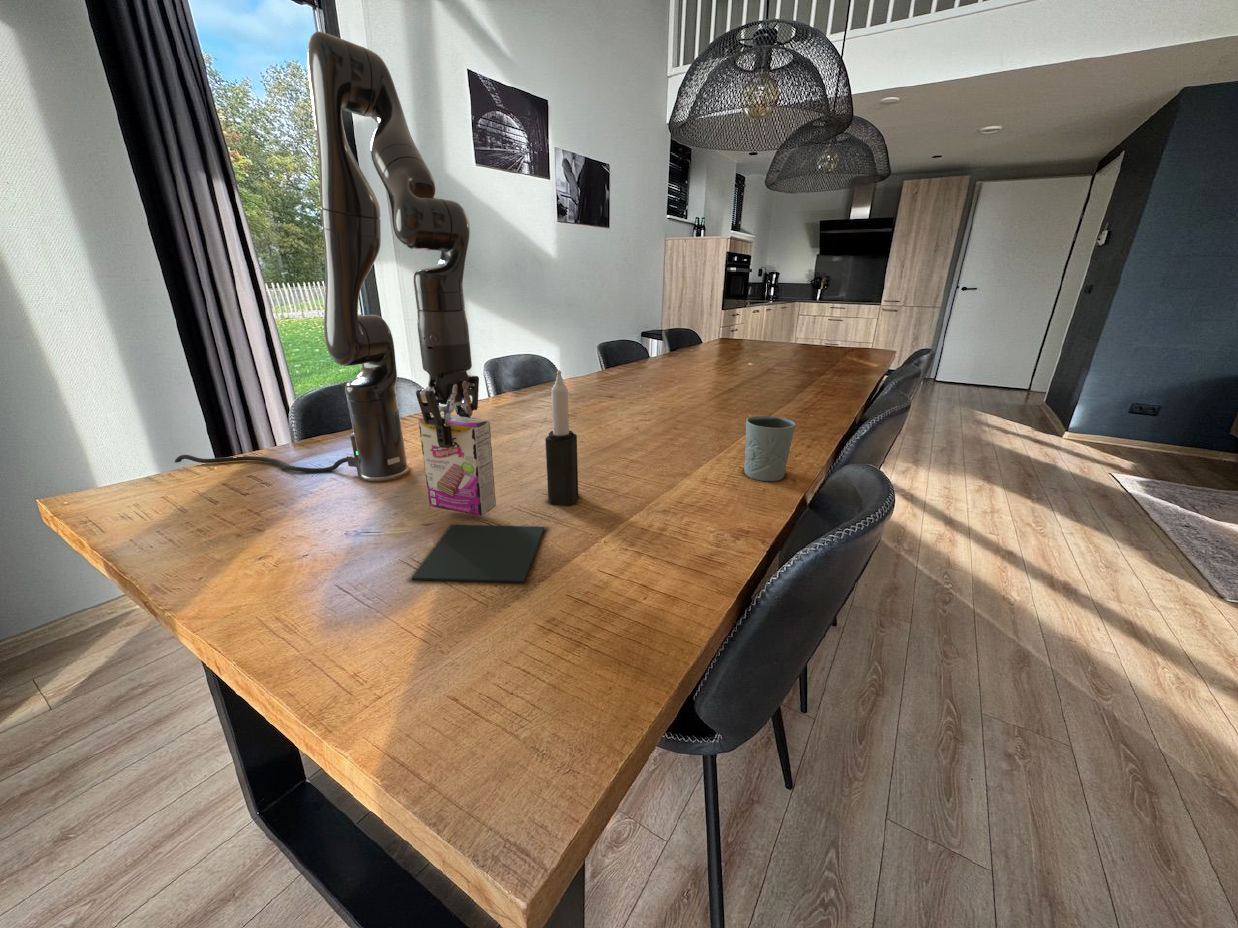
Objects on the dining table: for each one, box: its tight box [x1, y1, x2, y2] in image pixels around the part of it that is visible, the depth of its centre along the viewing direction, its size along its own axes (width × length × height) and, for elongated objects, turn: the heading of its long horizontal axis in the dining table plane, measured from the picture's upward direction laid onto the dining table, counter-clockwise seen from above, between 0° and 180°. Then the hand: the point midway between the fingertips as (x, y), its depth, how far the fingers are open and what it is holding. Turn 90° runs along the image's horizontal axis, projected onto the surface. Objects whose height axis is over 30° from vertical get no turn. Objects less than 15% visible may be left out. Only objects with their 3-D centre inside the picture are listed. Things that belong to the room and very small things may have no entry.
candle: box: [544, 369, 579, 506], centre depth 91 cm, size 5×5×25 cm
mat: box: [411, 524, 545, 584], centre depth 77 cm, size 16×16×1 cm
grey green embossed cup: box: [743, 415, 797, 482], centre depth 106 cm, size 10×10×12 cm
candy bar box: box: [418, 413, 497, 517], centre depth 85 cm, size 11×5×16 cm, turn 71°
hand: (455, 441), depth 83 cm, fingers closed on candy bar box, 5 cm apart
